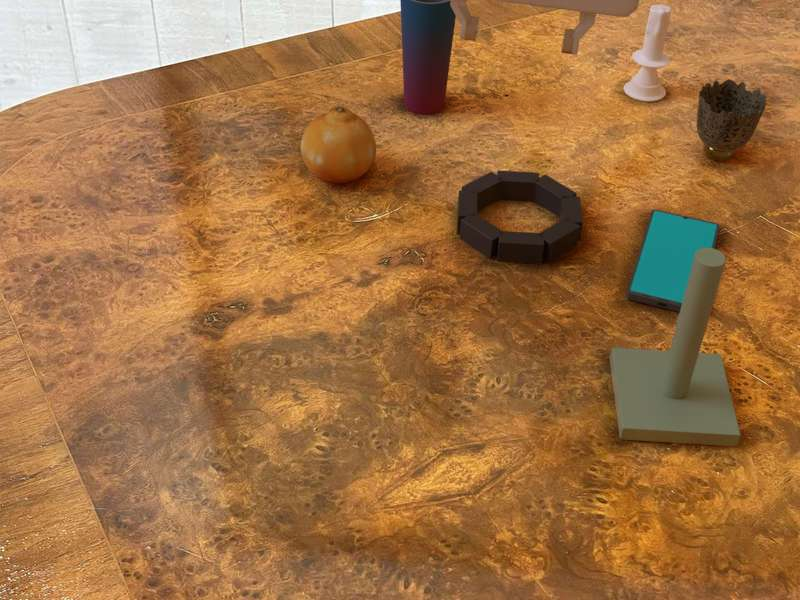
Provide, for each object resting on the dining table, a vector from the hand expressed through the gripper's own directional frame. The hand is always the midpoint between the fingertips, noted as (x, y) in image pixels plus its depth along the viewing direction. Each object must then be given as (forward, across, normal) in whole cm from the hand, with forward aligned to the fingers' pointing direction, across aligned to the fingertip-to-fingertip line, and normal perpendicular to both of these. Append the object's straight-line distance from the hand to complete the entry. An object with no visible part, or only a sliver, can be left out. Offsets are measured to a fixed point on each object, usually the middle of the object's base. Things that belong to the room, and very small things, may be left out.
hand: (518, 44), depth 99 cm
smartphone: (+22, -18, +1) cm, 29 cm away
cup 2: (+22, -23, -22) cm, 38 cm away
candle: (+22, -14, -34) cm, 43 cm away
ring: (+22, -2, -2) cm, 22 cm away
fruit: (+22, +19, -6) cm, 30 cm away
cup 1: (+22, +13, -24) cm, 35 cm away
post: (+22, -19, +21) cm, 35 cm away
